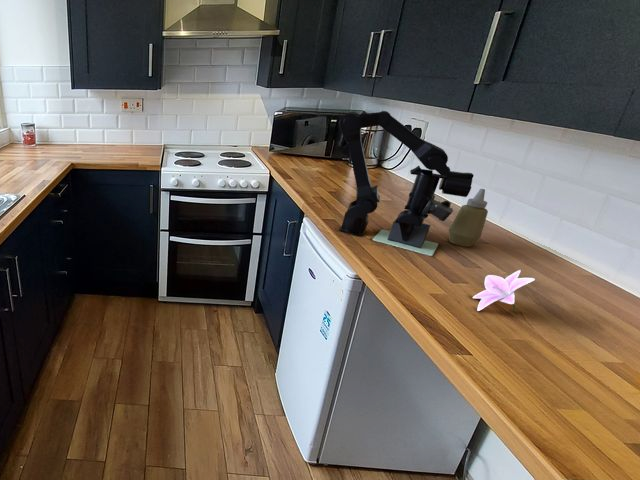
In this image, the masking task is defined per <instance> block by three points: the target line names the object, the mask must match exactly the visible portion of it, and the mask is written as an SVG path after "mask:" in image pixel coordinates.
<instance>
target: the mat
mask: <svg viewBox="0 0 640 480" xmlns="http://www.w3.org/2000/svg"><path fill="white" fill-rule="evenodd" d="M389 233H390V230H387V229H383V228H382V229H381V230H380V231H379V232H378V233H377V234H375V236H374V237H373V238H372V241H374V242H378V243H381V244H385V245H389V246H393V247H397V248H400V249H404V250H407V251H411V252H414V253H418V254H421V255H425V256H429V257H433V256H434V254H435V252H436V250H437V248H438V246H439V243H437V242H433V241H430V240H426V239H425V242H424V244H423V245H422V247H421V249H420V248H416V247H413V246H409V245H405V244H401V243H398V242H394V241H390V240H387V239H388V236H389Z"/></svg>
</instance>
